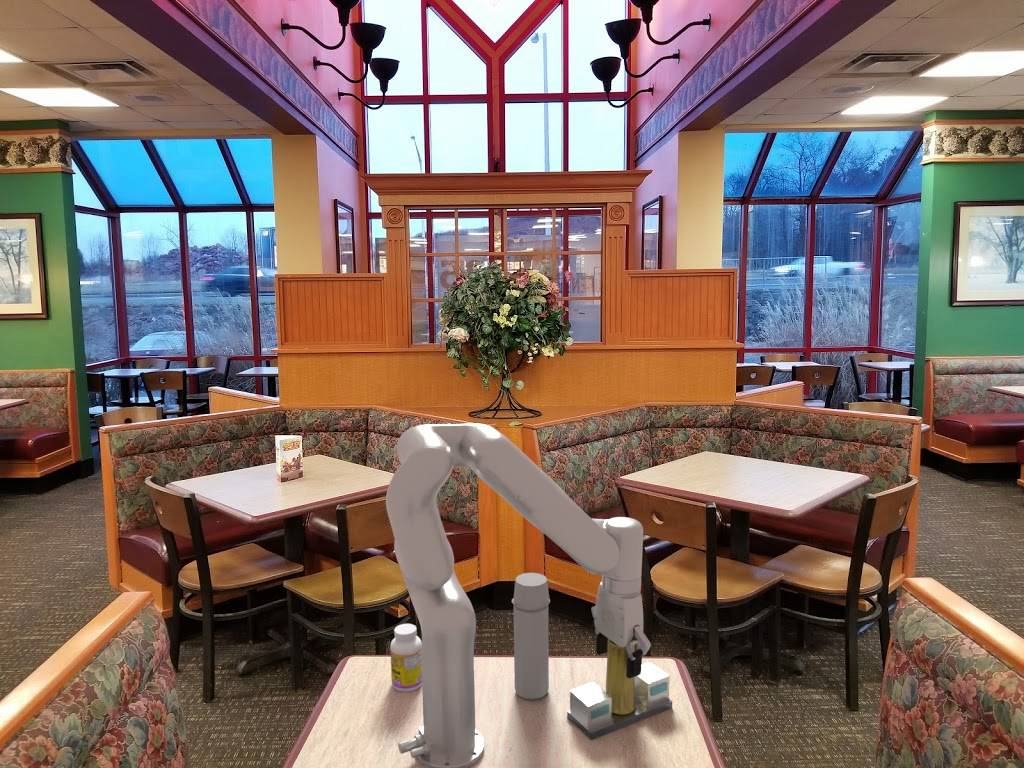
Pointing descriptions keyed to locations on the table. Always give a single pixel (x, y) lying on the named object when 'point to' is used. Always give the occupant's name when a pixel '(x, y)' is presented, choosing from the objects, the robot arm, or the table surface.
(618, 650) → the vase
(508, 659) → the table surface
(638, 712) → the rail board
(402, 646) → the supplement bottle
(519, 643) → the water bottle
